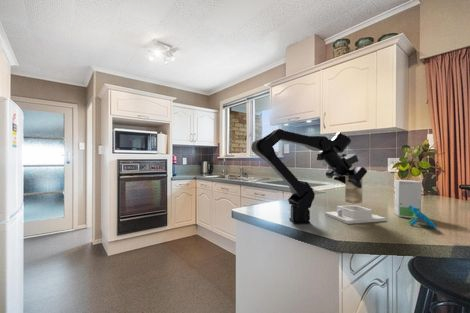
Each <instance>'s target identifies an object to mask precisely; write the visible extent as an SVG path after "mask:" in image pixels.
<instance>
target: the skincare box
mask: <svg viewBox="0 0 470 313" xmlns="http://www.w3.org/2000/svg"><path fill="white" fill-rule="evenodd" d="M410 205H411V206H412V207H415V208H416V209H417V210H419V211H420V212H422V181H418V180H408V179H407V180H406V179H405V180H404V179H394V212H393V213H394V214H395V215H396V216H397V217H398V218H407V219H408V218H409V219H412V218H413V217H412V216H413V214H414V213H413V212H412V211H411V209H409V208H408V207H409V206H410Z"/></svg>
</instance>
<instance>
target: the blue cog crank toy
mask: <svg viewBox="0 0 470 313" xmlns="http://www.w3.org/2000/svg"><path fill="white" fill-rule="evenodd" d="M408 208H409V209H411V211H412V212H413V213H414V214H413V216H412V217H413V218H410V219H409V220H408V224H409V225H410V226H414V225H415V224H416V223H418V222H421V221H422V222H424V223H425V224H427V225H428V226H430V227H431V228H432V227H433V229H434V228H436V227H437V225H436V224H434V223H435V222H434V221H432V220H430V219H429V217H428V216H427V215H426V214H424V213H423V212H422V211H421V212H420V211H419V210H417V209H416V208H415V207H412V206H411V205H410V206H409V207H408Z"/></svg>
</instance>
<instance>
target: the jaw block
mask: <svg viewBox="0 0 470 313" xmlns="http://www.w3.org/2000/svg"><path fill="white" fill-rule="evenodd" d="M348 180H349V178H348V176H345V184H344V185H345V191H344V192H345V197H344V198H345V199H344V200H345V202H346V203H348V204H352V205H356V204H363V178H362V179H361V180H360V182H361V185H362V187H361V188H358V187H356V186H355V185H353V184H351V183H349V182H348Z"/></svg>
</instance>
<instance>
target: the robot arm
mask: <svg viewBox="0 0 470 313" xmlns="http://www.w3.org/2000/svg"><path fill="white" fill-rule="evenodd" d="M279 141H282V142H284V143H285V142H286V143H291V144H296V145H299V146H303V147H304V148H306V149H308V150H310V151H313V152H321V153H317V154H316V161H324V162H325V163H326V165H327V168H328V170H326V172H325V176H326V177H327V179H333V181H337V182H340V183H342V184H343V185H345V176H348V178H349V180H348V182H349V183H351V184H353V185H355V186H356V187H358V188H361V187H362V188H363V184H362V185H361V182H360V180H361V179H362V180H363V178H364V176H365V175H366V174H367V172H368V170H367V169H366V168H365V167H363V166H354V167H353V164H356V163H358V162H359V158H358V156H357V154H356V153H349V154H346V153H343V152H344V151H345V150H346V149H347V148H348V146H349V145H350V144H351V143H352V140H351V138H350V137H349V136H347V135H345V134H343V133H341V132H336V134H335V135H334V136H333V137H332V138H331V139H329V138H328V137H327V136H325V135H305V134H301V133H296V132H292V131H287V130H283V129H281V128H278V129H274V130H273V131H272V132H270V133H269V134H267V135H265V136H264V137H263V138H260V139H256V140H254V141H253V142H252V143H251V152H252V153H253V154H255V155H256V156H257V157H258V158H260V159H262V160H263V161H264V162H266V163H268V165H269V166H270V168H272V169H273V170H274V171H275V173H276V174H277V175H278V176H279V177H280V178H281V179H282V180H283V182H284V183H286V185H287V186H288V187H289V190H290V193H291V196H289V198H288V199H287V200H288V204H289V205H290V217H289V218H288V219H289V220H290V221H291V222H292V223H293V224H295V225H296V224H298V225H301V224H311V221H310V219H311V210H310V209H311V207H312V204H313V202H314V200H315V195H316V194H315V192H314V190H315V189H314V188H313V187H311V185H310V184H309V183H308V182H307V181H303V180H299V179H298V178H297V176H295V175H294V173H292V171H291V170H290V169H289V168H288V167H287V166H286V165H285V164H284V162H283V161H282V160H281V159H280V157H278V156H277V154H276V151H275V149H274V146H275V145H277V143H278V142H279ZM351 168H353V169H351Z"/></svg>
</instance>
